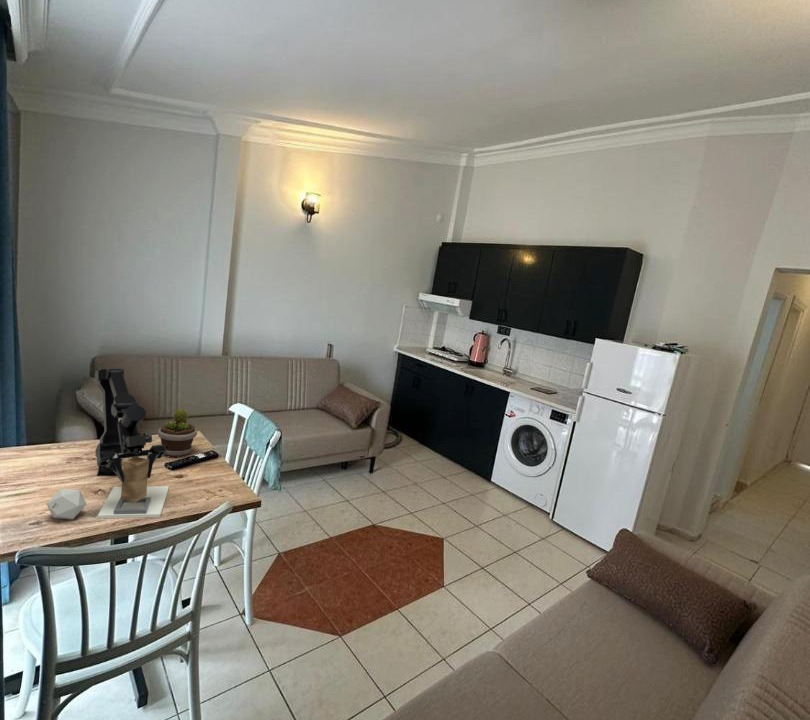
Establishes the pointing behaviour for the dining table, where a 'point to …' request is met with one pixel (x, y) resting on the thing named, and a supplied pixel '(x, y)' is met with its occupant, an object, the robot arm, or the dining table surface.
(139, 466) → the brown paper bag
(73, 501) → the die
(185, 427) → the flowerpot
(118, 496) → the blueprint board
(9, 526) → the dining table surface
